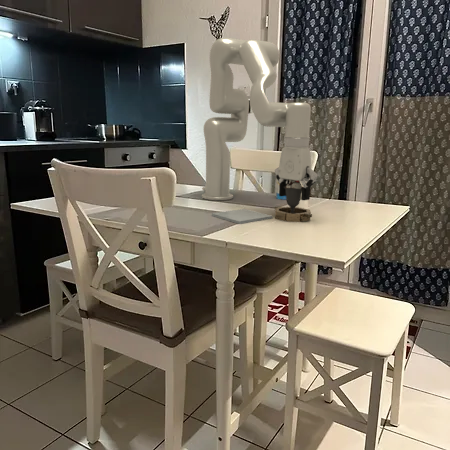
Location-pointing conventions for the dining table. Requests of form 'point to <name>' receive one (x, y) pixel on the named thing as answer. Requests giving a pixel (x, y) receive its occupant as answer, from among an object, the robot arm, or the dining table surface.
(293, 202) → the sundae
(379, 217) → the dining table surface
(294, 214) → the collar
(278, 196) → the ink box
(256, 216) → the plate
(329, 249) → the dining table surface
